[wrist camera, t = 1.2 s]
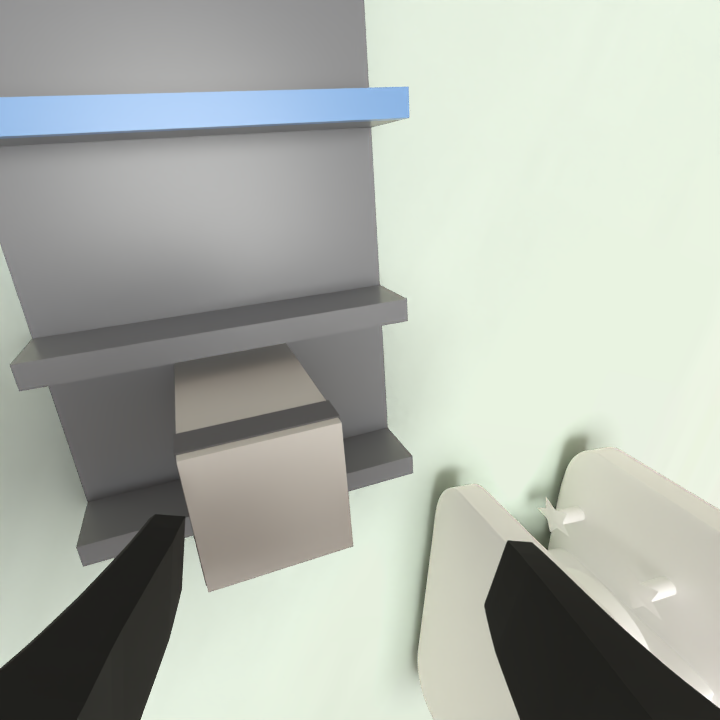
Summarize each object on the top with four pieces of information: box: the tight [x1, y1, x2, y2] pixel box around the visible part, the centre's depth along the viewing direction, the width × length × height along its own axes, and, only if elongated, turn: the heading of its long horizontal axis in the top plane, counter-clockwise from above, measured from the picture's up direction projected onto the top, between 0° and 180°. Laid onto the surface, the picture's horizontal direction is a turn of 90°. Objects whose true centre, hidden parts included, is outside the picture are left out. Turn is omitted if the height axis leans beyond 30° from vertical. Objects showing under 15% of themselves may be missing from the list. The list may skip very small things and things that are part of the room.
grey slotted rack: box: [0, 0, 413, 566], centre depth 15 cm, size 12×22×4 cm, turn 5°
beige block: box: [173, 343, 353, 592], centre depth 16 cm, size 4×4×7 cm
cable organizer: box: [417, 447, 720, 720], centre depth 23 cm, size 15×11×12 cm
